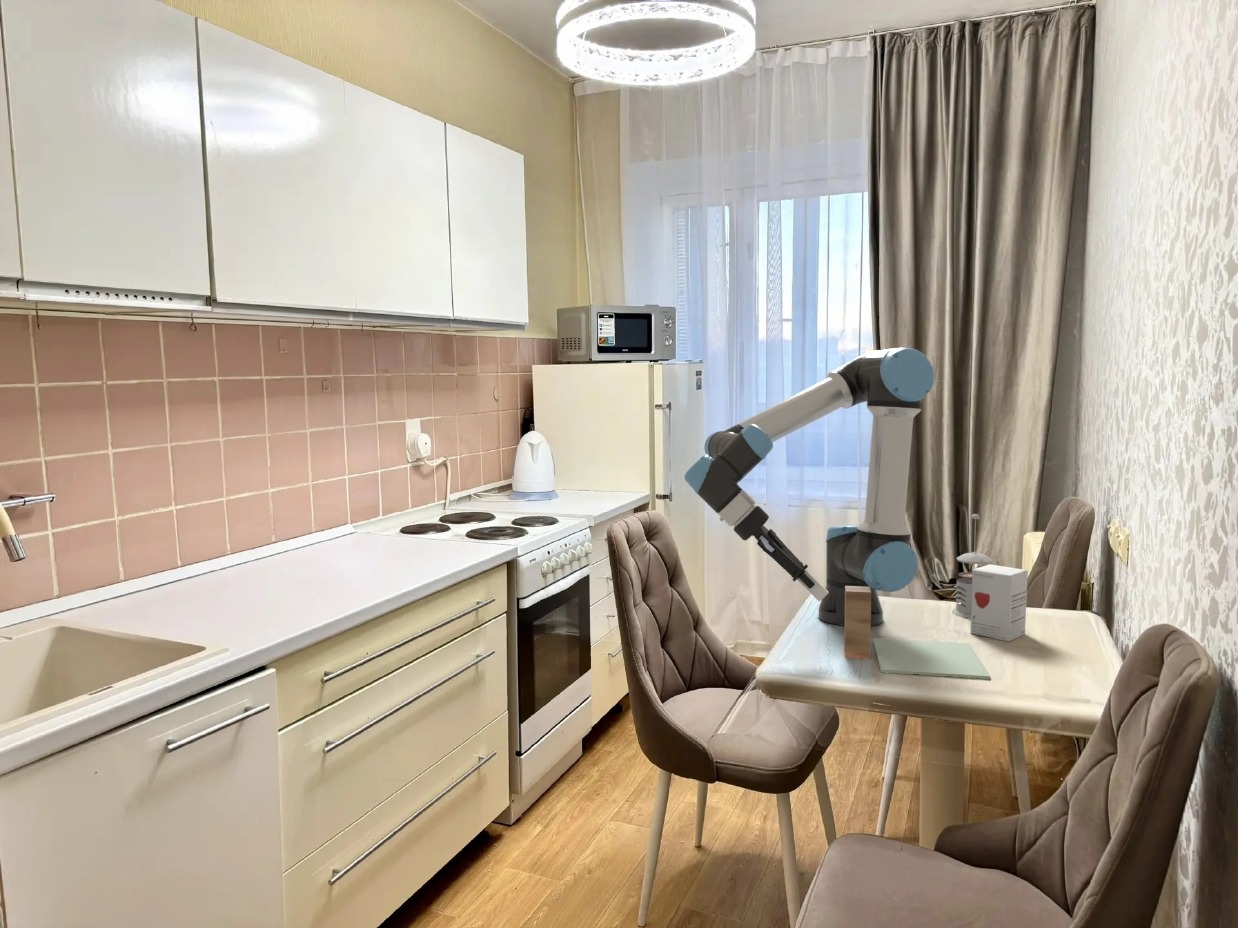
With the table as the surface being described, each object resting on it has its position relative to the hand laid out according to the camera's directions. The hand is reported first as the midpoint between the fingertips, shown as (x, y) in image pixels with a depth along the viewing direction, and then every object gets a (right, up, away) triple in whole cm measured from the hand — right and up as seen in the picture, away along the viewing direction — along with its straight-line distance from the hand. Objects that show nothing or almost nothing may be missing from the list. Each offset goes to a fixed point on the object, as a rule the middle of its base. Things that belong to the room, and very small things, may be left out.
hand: (823, 596), depth 176 cm
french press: (+45, -10, +31) cm, 55 cm away
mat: (+21, -12, -4) cm, 24 cm away
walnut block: (+7, -12, -1) cm, 14 cm away
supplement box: (+43, -11, +14) cm, 46 cm away
